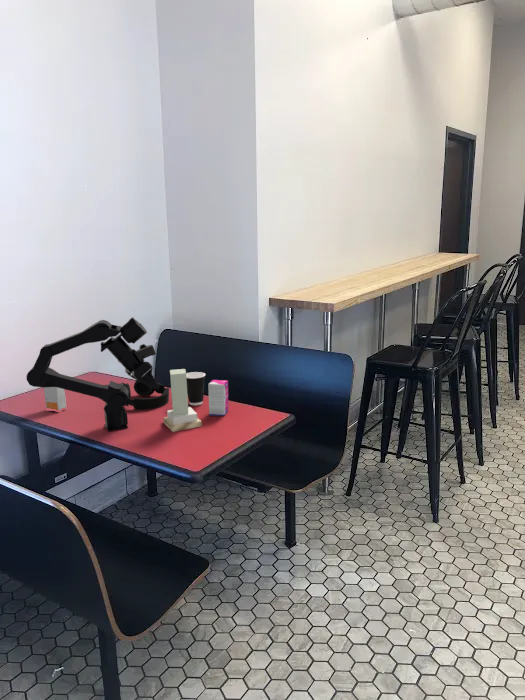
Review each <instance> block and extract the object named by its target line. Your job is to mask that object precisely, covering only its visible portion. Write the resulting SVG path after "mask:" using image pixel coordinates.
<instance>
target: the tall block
mask: <svg viewBox="0 0 525 700" xmlns="http://www.w3.org/2000/svg"><path fill="white" fill-rule="evenodd" d="M186 374H187V371H186V369H185V368H181V369H179V368H178V369H170V370H169V375H170V376H169V377H170V392H171V394H170V395H171V405H172V407H171V408H172V410H173V415H182V414H189V412H188V407H189V400H188V394H187V380H186Z"/></svg>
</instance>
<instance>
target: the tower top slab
mask: <svg viewBox="0 0 525 700" xmlns="http://www.w3.org/2000/svg"><path fill="white" fill-rule="evenodd" d="M166 412H167V413H166V417H168V419H169V420H170V421H171V422H172V423H173V424H174V425H176V424H182V423H188V422H194V421H197V418H198V413H197V412H196V411H195V410H194V409H193V408H192V407H191V406H188V412H189V414H182V415H173V409H168V410H167V411H166Z"/></svg>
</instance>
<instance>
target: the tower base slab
mask: <svg viewBox="0 0 525 700" xmlns="http://www.w3.org/2000/svg"><path fill="white" fill-rule="evenodd" d="M162 419H163V424H164V425H166V427H168V429H170V432H172V433H175V432H179V431H184V430H189V429H195V428H199V427H202V426H203V424H202V420H201V419H199V417H197V421H194V422H188V423H182V424H176V425H174V424H173V423H172V422H171V421H170V420H169V419H168V416H165V417H162Z"/></svg>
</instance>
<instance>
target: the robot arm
mask: <svg viewBox="0 0 525 700" xmlns="http://www.w3.org/2000/svg"><path fill="white" fill-rule="evenodd" d="M147 333H148V331H147V329H146V328H145V327H144V326H143V324H142V323H140V322H139V321H138V320H137V319H135V318H134V316H132V317H130V318H129V319H128V321H127V322H126V323H125V324H123V325H122V326H121V325H115V324H112V323H111V322H110V321H108V320H105V319H100V320H98V321H97V322H95V323H94V324H93V323H92V324H91V325H90V326H89V327H87V328H86V329H84V330H83V331H80V332H77V333H75V334H73V335H69V336H67V337H64V338H62V339H59V340H57V341H54V342H51V343H47V344H44V345H43V346H42V347H41V349H40V350H39V355H38V356H37V359H36V360H35V362H34V364H33V366H32V368H31V369H30V370H29V371H28V372H27V374H26V377H25V378H26V381H27V383H28V384H29V385H30V386H32V387H34V388H44V387H58V388H61V389H64V390H67V391H69V392H70V391H71V392H74V393H77V394H81V395H86V396H89V397H94V398H98V399H100V400H101V401H103V402H104V403H105V404H104V406H103V410H104V411H103V412H104V422H105V423H104V427H105V428H106V430H107V431H108V432H112V431H117V430H118V431H119V430H122V429H128V428H129V426H128V424H129V421H128V419H129V418H128V412H127V411H126V408H125V407H124V406H126V403H127V401H128V398H129V391H128V389H127V388H126V387H125V386H122V382H119V383H118V382H115V381H113V380H110V381H109V383H108V384H101V383H98V382H97V383H96V382H93V381H89V380H84V379H80V378H77V377H73V376H69V375H65V374H62V373H59V372H57V370H55V369H53V368H51V367H50V365H51V363H52V360H53V357H55V356H57V355H61V354H63V353H64V352H67V351H70V350H72V349H75V348H78V347H80V346H83V345H85V344H93V343H94V344H95V343H98V342H101V343H100V352H101V353H102V352H104V351H105V350H108V351H109V352H110V354H112V355H113V357H114V358H115V359H116V360H117V362H119V363H120V364H121V366H123V367H124V371H125V373H126V375H128V376H129V377H130V378H132V379H134V380H135V381H136V380H138V381H140V382H142V383H144V384H146V385H148V386H150V387H152V388H154V389H156V390H157V389H158V388H159V386H158V384H157V383H158V382H157V381H156V379H155V378H154V377H155V376H154V375H153V370H154V368H153V365H152V363H150V362H149V361H145V359H147V358H149V357H151V356H155V355H157V352H156V350H155V348H154V345H153V344H149V345H146V344H144V343H142V344H140V345H139V348H138V349H137V350H136V349H134V348H132V347H131V346H130V345H129V344H135V343H137V342H138V341H139V340H140V339H142V337H144V336H145V335H146V334H147Z"/></svg>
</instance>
